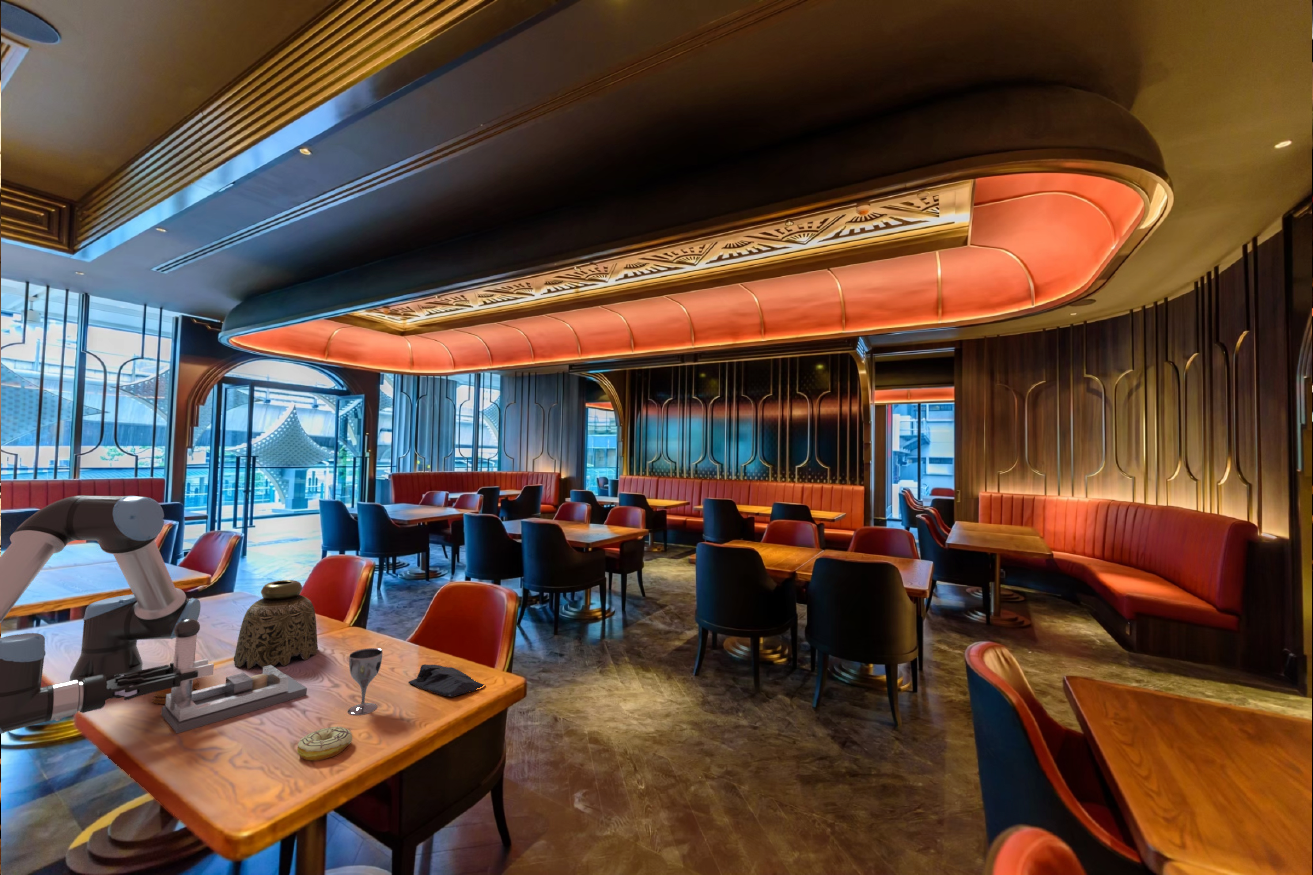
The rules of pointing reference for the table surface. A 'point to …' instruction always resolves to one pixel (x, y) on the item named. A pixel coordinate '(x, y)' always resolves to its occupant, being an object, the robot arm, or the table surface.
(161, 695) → the burger
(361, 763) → the table surface
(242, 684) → the grey rectangular block
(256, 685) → the nut
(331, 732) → the decorated donut
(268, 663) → the lamp shade
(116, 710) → the table surface
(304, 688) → the press bench
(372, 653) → the wine glass
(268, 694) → the press ram
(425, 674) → the black crumpled cloth
